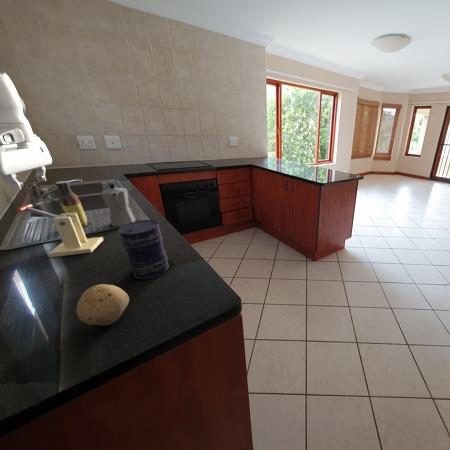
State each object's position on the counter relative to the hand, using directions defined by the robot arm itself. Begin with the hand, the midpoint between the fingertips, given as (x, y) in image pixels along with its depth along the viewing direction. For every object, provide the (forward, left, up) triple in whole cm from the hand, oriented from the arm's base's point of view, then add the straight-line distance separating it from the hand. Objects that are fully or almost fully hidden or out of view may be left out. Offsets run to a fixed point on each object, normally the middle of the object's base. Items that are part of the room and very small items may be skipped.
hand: (30, 185), depth 69 cm
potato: (+25, -36, -26) cm, 50 cm away
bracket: (0, +8, -25) cm, 27 cm away
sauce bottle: (-10, +32, -26) cm, 43 cm away
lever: (-5, +8, -13) cm, 16 cm away
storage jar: (+29, -15, -26) cm, 41 cm away
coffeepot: (+7, +32, -26) cm, 42 cm away
